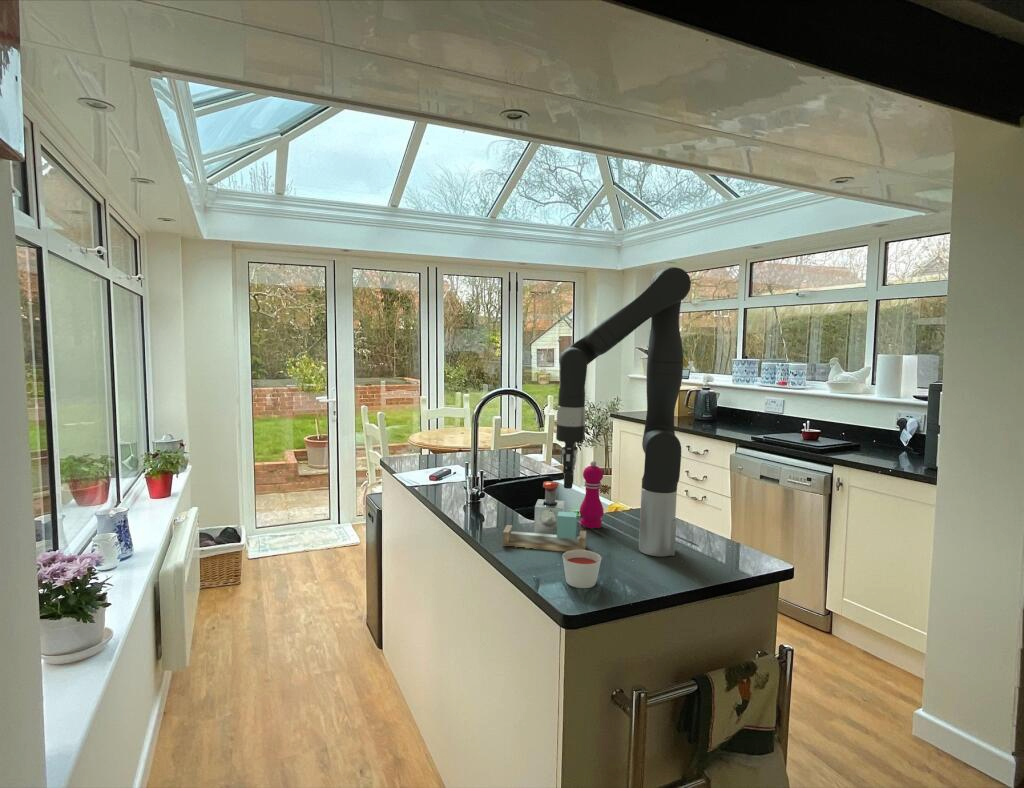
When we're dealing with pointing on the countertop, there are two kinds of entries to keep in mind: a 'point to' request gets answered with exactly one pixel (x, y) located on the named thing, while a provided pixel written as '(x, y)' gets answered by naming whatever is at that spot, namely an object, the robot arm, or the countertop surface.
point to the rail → (539, 546)
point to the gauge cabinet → (547, 517)
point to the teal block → (566, 525)
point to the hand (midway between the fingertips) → (568, 485)
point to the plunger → (550, 492)
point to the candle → (581, 568)
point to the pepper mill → (592, 497)
